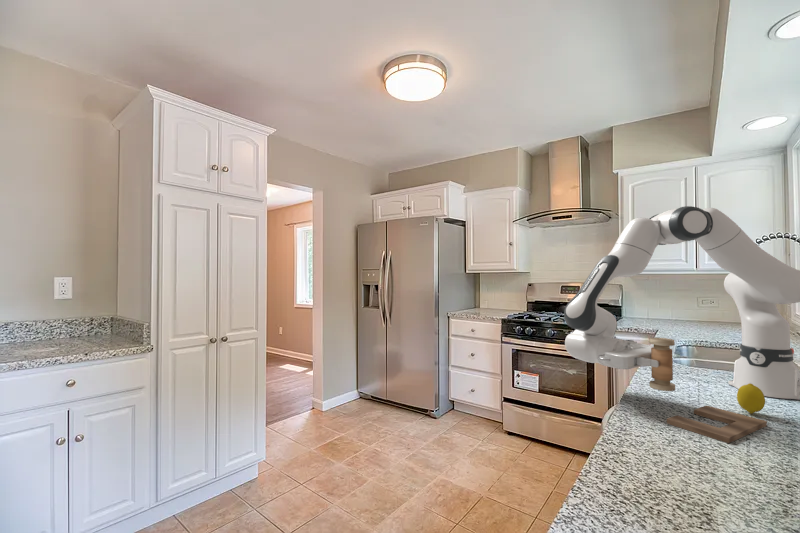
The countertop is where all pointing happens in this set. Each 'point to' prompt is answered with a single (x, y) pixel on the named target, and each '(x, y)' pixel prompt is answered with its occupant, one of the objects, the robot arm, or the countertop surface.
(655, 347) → the bobbin
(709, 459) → the countertop surface
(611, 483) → the countertop surface
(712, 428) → the notched board
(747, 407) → the lemon
